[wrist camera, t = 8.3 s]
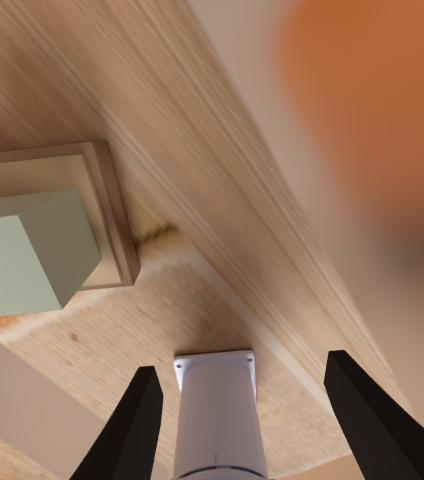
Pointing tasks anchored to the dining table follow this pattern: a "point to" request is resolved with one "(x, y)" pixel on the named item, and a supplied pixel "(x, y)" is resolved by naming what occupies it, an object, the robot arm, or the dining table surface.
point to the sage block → (43, 251)
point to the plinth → (92, 197)
